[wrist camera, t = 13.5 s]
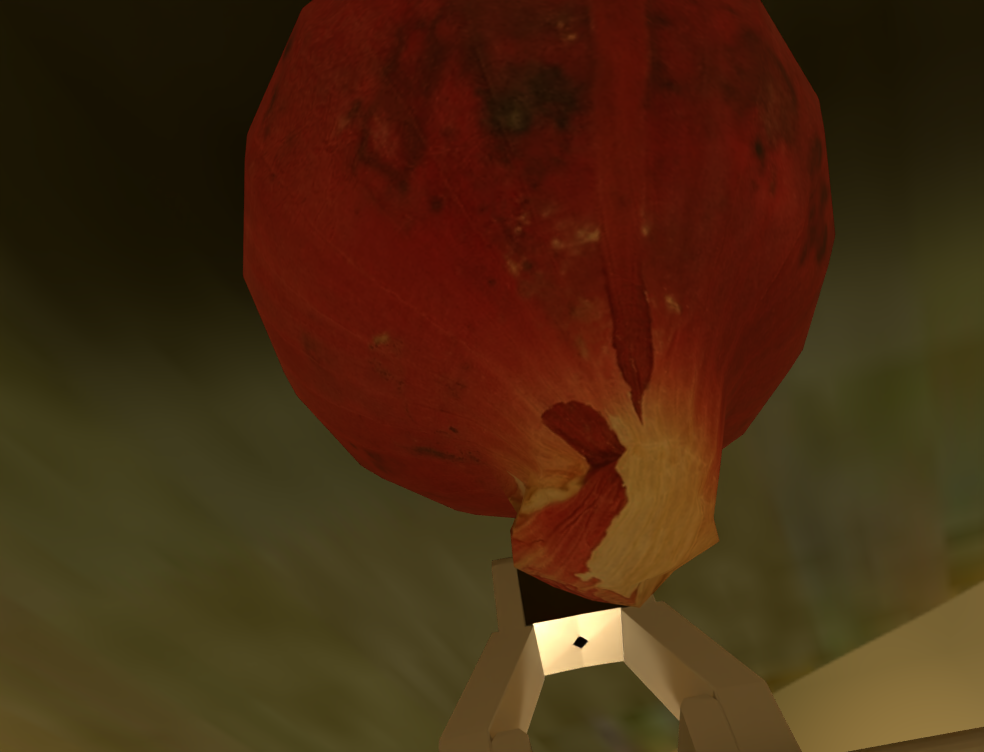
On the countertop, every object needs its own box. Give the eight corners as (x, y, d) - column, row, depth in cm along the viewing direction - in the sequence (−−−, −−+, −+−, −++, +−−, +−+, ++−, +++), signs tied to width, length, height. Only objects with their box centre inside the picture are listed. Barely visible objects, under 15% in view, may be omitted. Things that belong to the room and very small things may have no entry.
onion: (270, -22, 8) (-1025, -455, 1) (672, -67, 8) (2282, -735, 1) (363, 339, 11) (247, 853, 4) (648, 302, 11) (998, 740, 4)
